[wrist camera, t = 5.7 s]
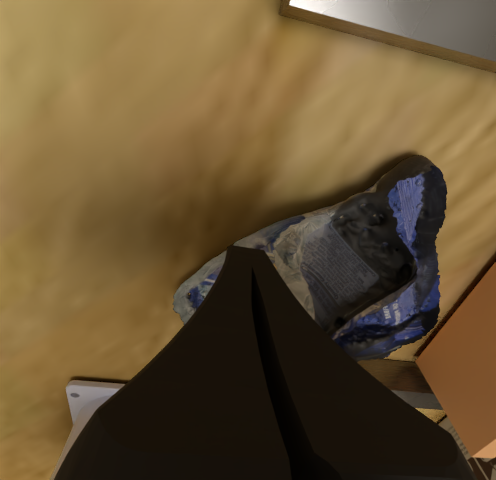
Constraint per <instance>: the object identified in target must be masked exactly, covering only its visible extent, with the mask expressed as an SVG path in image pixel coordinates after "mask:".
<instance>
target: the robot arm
mask: <svg viewBox="0 0 496 480" xmlns="http://www.w3.org/2000/svg"><path fill="white" fill-rule="evenodd" d="M66 393H67V398H68V402H69V407H70V412H71V417H72V421H73V428H72V430H71V432H70V435H69V437H68V439H67V441H66V444H65V446H64V448H63V451H62V453H61V455H60V457H59V460H58V462H57V464H56V467H55V469H54V471H53V473H52V476H51V478H50V480H478V479H477V478H476V476H475V474H474V472H473V471H472V469H471V467H470V465H469V464H468V462H467V460H466V458H465V457H464V455H463V453H462V451H461V450H460V448H459V446H458V444H457V443H456V441H455V439H454V438H453V436H452V434H450V433H449V432H448V431H446V430H445V429H443V428H442V427H441V426H439V425H438V424H436V423H435V422H434V421H432V420H431V419H429V418H428V417H426V416H425V415H424V414H422V413H421V412H419V411H418V410H417V409H415V408H414V407H412V406H411V405H410V404H408V403H407V402H405V401H404V400H403V399H401V398H400V397H399V396H397V395H396V394H395V393H394V392H392V391H391V390H390V389H388V388H387V387H386V386H385V385H383V384H382V383H381V382H380V381H378V380H377V379H376V378H375V377H373V376H372V375H371V374H370V373H369V372H368V371H366V370H365V369H364V368H363V367H362V366H360V365H359V364H358V363H357V362H356V361H355V360H354V359H353V358H352V357H351V356H349V355H348V354H347V353H346V352H345V351H344V350H343V349H342V348H341V347H340V346H339V345H338V344H337V343H336V342H335V341H334V340H333V339H332V338H331V337H330V336H329V335H328V334H327V333H326V332H325V331H324V330H323V329H322V328H321V327H320V326H319V325H318V324H317V323H316V322H315V320H314V319H313V318H312V317H311V316H310V315H309V313H308V312H307V311H306V310H305V309H304V307H303V306H302V305H301V304H300V302H299V301H298V300H297V299H296V297H295V296H294V294H293V293H292V292H291V290H290V289H289V287H288V286H287V285H286V283H285V282H284V280H283V279H282V277H281V276H280V274H279V273H278V271H277V270H276V268H275V266H274V265H273V263H272V262H271V260H270V258H269V257H268V255H267V254H266V252H265V251H264V250H260V249H254V248H247V247H240V246H234V245H231V246H229V247H227V252H226V257H225V261H224V264H223V266H222V269H221V271H220V273H219V275H218V277H217V279H216V281H215V282H214V284H213V286H212V287H211V289H210V290H209V292H208V294H207V295H206V297H205V298H204V300H203V301H202V303H201V304H200V306H199V307H198V308H197V310H196V311H195V312H194V314H193V315H192V316H191V318H190V319H189V320H188V321H187V323H186V324H185V325H184V326H183V327H182V329H181V330H180V331H179V332H178V333H177V334H176V336H175V337H174V338H173V339H172V340H171V341H170V342H169V343H168V344H167V345H166V346H165V347H164V348H163V349H162V350H161V351H160V352H159V353H158V354H157V355H156V356H155V357H154V358H153V359H152V360H151V361H150V362H149V363H148V364H147V365H146V366H145V367H144V368H143V369H142V370H141V371H140V372H139V373H138V374H137V375H136V376H135V377H133V378H132V379H131V380H130V381H129V382H128V383H126V384H118V383H106V382H94V381H81V380H72V381H70V382H69V383H68V385H67V387H66Z"/></svg>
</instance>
